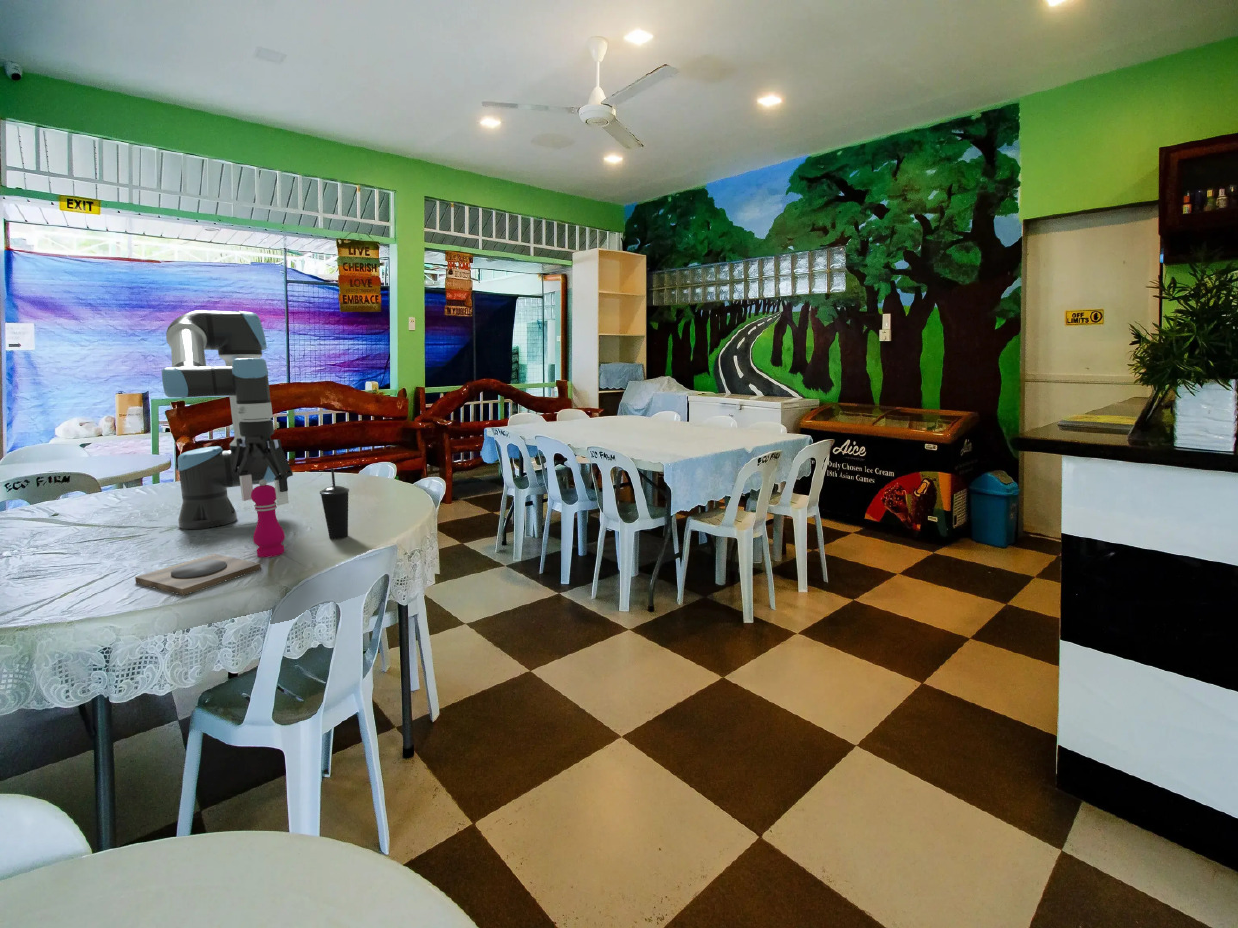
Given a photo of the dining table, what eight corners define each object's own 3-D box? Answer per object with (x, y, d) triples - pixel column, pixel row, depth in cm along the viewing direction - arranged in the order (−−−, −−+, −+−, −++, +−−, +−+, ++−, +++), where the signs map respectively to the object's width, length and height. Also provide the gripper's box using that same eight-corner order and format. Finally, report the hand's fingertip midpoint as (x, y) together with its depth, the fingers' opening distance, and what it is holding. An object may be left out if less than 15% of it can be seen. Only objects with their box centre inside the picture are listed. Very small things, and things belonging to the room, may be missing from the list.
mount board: (135, 583, 141) (134, 574, 141) (215, 559, 157) (214, 551, 157) (183, 595, 134) (182, 586, 133) (261, 569, 150) (260, 561, 149)
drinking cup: (334, 542, 171) (328, 472, 167) (318, 538, 175) (311, 469, 171) (358, 535, 177) (352, 467, 173) (342, 531, 181) (336, 465, 177)
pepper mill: (278, 547, 166) (269, 475, 163) (292, 552, 162) (284, 478, 159) (249, 554, 161) (240, 480, 157) (263, 560, 157) (254, 483, 153)
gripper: (210, 420, 157) (220, 500, 161) (275, 423, 146) (284, 509, 150) (238, 417, 164) (248, 495, 167) (302, 420, 153) (311, 502, 157)
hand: (265, 502), depth 159 cm, fingers open, 13 cm apart
